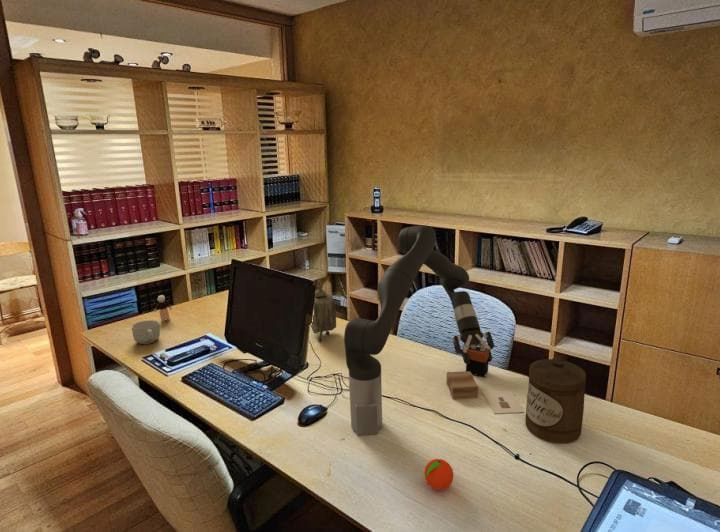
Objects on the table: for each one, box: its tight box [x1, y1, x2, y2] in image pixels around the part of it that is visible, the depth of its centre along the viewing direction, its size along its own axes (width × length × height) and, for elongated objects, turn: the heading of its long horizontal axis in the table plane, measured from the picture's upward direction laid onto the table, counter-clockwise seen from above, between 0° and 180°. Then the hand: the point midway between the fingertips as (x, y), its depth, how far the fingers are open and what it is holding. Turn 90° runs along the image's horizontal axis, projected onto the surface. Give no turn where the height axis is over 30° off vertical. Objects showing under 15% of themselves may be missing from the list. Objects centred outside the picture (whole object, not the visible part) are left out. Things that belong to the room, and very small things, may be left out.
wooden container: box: [525, 356, 587, 445], centre depth 132 cm, size 15×15×22 cm
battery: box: [465, 345, 490, 378], centre depth 165 cm, size 4×7×10 cm, turn 57°
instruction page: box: [482, 390, 524, 415], centre depth 148 cm, size 12×9×1 cm
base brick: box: [446, 370, 479, 400], centre depth 155 cm, size 10×8×4 cm
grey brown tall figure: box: [310, 278, 337, 342], centre depth 198 cm, size 14×9×25 cm, turn 17°
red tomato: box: [423, 458, 454, 491], centre depth 113 cm, size 8×7×7 cm
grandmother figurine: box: [153, 294, 173, 323], centre depth 221 cm, size 8×4×13 cm, turn 130°
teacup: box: [130, 319, 161, 345], centre depth 199 cm, size 14×11×8 cm
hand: (479, 362), depth 164 cm, fingers closed on battery, 7 cm apart
